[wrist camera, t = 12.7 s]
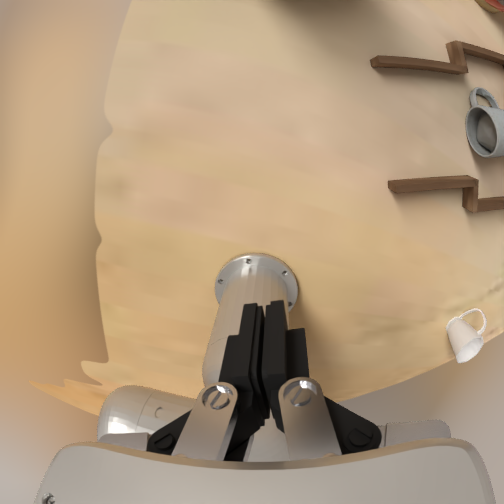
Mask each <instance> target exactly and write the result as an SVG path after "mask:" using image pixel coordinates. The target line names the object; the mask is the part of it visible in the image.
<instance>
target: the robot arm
mask: <svg viewBox="0 0 504 504" xmlns="http://www.w3.org/2000/svg"><path fill="white" fill-rule="evenodd" d="M248 259H250V260H248ZM284 271H286V272H284ZM221 279H222V280H221ZM215 295H216V298H217V301H218V303H219V308H218V312H217V315H216V319H215V322H214V326H213V329H212V333H211V336H210V340H209V343H208V347H207V350H206V354H205V357H204V361H203V366H202V377H203V382H204V386H205V388H204V389H202V390H201V392H200V393H199V395H198V397H197V399H194V398H189V397H185V396H180V395H176V394H172V393H168V392H164V391H160V390H156V389H152V388H148V387H143V386H137V385H127V386H122V387H120V388H117V389H116V390H114V391H113V392H112V393H110V394H109V396H108V397H107V398H106V400H105V401H104V403H103V405H102V408H101V411H100V414H99V419H98V426H97V440H98V442H79V443H73V444H69V445H66V446H65V447H63V448H62V449H61V450H60V451H59V452H58V453H57V454H56V456H55V457H54V459H53V461H52V462H51V464H50V466H49V468H48V470H47V472H46V474H45V476H44V478H43V481H42V483H41V485H40V488H39V490H38V493H37V496H36V499H35V501H34V504H496V502H495V497H494V493H493V489H492V485H491V481H490V478H489V475H488V472H487V469H486V467H485V464H484V462H483V460H482V458H481V456H480V454H479V452H478V451H477V450H476V448H475V447H474V446H473V445H472V444H471V443H469V442H467V441H464V440H461V439H455V438H451V433H450V429H449V426H448V425H447V424H446V423H445V422H443V421H441V420H427V421H417V422H403V423H387V424H386V426H376V425H375V424H374V423H372V422H370V421H368V420H366V419H364V418H363V417H361V416H358V415H357V414H355V413H353V412H351V411H349V410H348V409H346V408H344V407H342V406H341V405H339V404H337V403H335V402H334V401H332V400H330V399H328V398H327V397H325V396H323V392H322V389H321V387H320V385H319V383H317V382H316V381H315V380H313V379H311V378H309V368H308V357H307V347H306V338H305V329H304V328H300V329H292V330H289V312H290V311H291V309H292V308H293V307H294V305H295V303H296V300H297V295H298V287H297V281H296V278H295V276H294V274H293V272H292V271H291V269H290V268H289V267H288V266H287V265H286V264H285V263H284V262H282V261H281V260H279V259H277V258H275V257H273V256H270V255H266V254H261V253H249V254H244V255H240V256H237V257H235V258H233V259H231V260H230V261H229V262H227V263H226V264H225V265H224V266H223V267H222V269H221V270H220V272H219V274H218V276H217V279H216V283H215Z"/></svg>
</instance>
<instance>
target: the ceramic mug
mask: <svg viewBox="0 0 504 504" xmlns="http://www.w3.org/2000/svg"><path fill="white" fill-rule="evenodd" d="M476 94H479V95H482V96H484V97H486V99H487V100H488V101H489V102H490V104H491V106H492V108H491V107H486V106H481V105H478V103H477V99H476ZM470 102H471V106H472V108H470V110H469V111H468V113H467V116H466V133H467V137H468V140H469V143H470V145H471V147H472V148H473V150H474V151H475V152H476V153H477V154H478V155H480V156H482V157H485V158H492V157H501V156H504V110H502V109H500V108H499V106H498V104H497V102H496V100H495V99H494V97H493V96H492V95H491V94H490V93H489V92H488V91H487V90H485V89H483V88H480V87H477V88H475V89H474V90H473V91H471V93H470Z"/></svg>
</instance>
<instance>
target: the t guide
mask: <svg viewBox="0 0 504 504" xmlns="http://www.w3.org/2000/svg"><path fill="white" fill-rule="evenodd" d="M446 47H447V51H448V55H449V59H450V63H446V62H440V61H434V60H426V59H418V58H408V57H396V56H376V57H375V58H373V59H371V60H370V62H371V66H372V67H391V68H408V69H420V70H429V71H437V72H444V73H451V74H457V75H458V74H465V73H468V68H467V64H466V59H465V55H464V54H468V55H472V56H476V57H480V58H483V59H487V60H490V61H493V62H496V63H499V64H502V65H503V67H504V55H502V54H499V53H497V52H494V51H491V50H488V49H485V48H481V47H478V46H475V45H471V44H468V43H464V42H460V41H453V42H450V43H447V44H446ZM462 187H463V204H462V206H463V207H464V208H466V209H468V210H469V211H471V212H480V211H488V210H496V209H504V197H493V198H482V199H478V179H475V178H473V177H470V176H468V175H466V176H446V177H430V178H416V179H404V180H392V181H388V188H389V189H391V190H392V191H394V192H395V193H404V192H414V191H425V190H436V189H448V188H462Z"/></svg>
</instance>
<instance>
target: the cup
mask: <svg viewBox="0 0 504 504" xmlns="http://www.w3.org/2000/svg"><path fill="white" fill-rule="evenodd" d="M475 311H479V312H481V314H482V316H483V318H484V325H483V327H482V328H481V329H480V330H479V331H478V332H477V331H476V330H475V329H474V328H473V327H472V326H471V325H470V324H468V323H467V322H466V321H464V320H462V318H463V316H465V315H467V314H469V313H472V312H475ZM486 322H487V320H486V317H485V315H484V313H483V312H482V311H481V310H479V309H471V310H469V311H466V312H464V313H463V314H461V315H460V316H459V317H454V318H453V319H452V320H450V321H449V322H448V324H447V326H446V328H445V329H446V331H447V333H448V337H449V340H450V343H451V346H452V348H453V351H454V354H455V356H456V359H457V362H458V363H463V362H467V361H469V360H470V359H471V358H473V357H474V356H475V355H476V354H477V353H478V352H479V350H480V349H481V347H482V346H483V344H484V343H483V337H482V336H481V334H482V333H483V331H484V330H485V328H486Z"/></svg>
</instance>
